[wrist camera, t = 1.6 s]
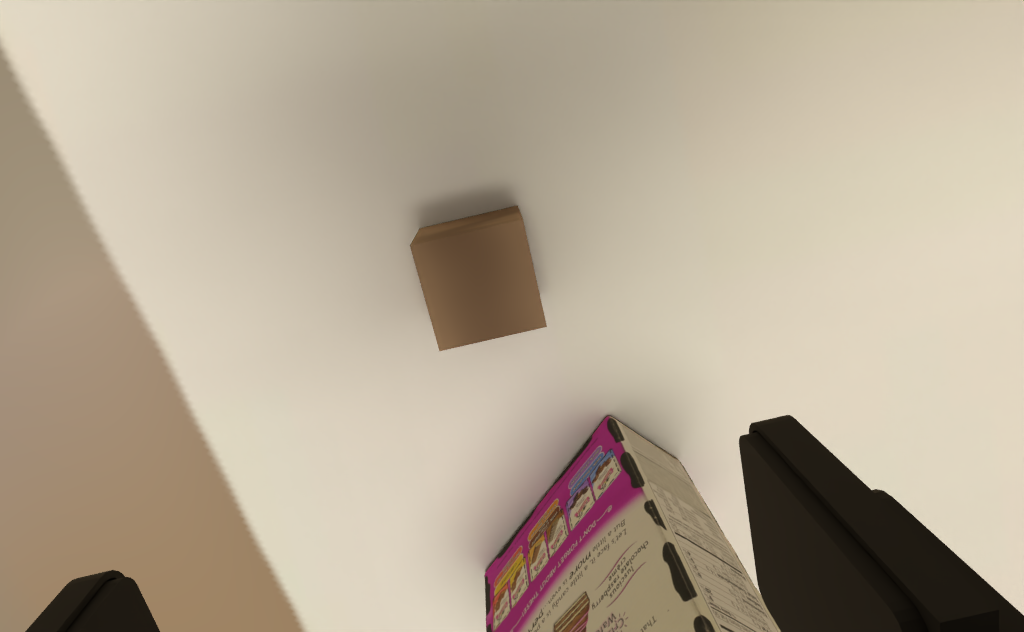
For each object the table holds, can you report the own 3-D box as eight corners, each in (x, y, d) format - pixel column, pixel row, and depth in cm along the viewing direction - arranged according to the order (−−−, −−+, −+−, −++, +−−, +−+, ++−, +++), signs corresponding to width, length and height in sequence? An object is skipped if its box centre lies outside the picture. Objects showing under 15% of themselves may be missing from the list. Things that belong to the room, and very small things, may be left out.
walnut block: (517, 205, 28) (522, 219, 24) (538, 299, 30) (546, 326, 26) (420, 227, 28) (410, 245, 24) (445, 320, 30) (439, 351, 26)
